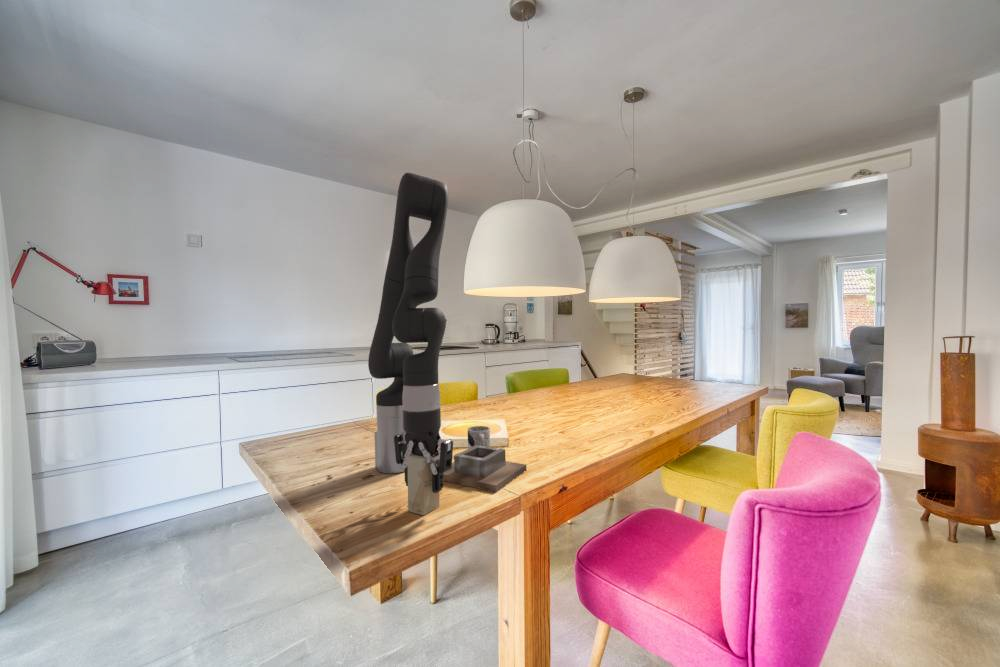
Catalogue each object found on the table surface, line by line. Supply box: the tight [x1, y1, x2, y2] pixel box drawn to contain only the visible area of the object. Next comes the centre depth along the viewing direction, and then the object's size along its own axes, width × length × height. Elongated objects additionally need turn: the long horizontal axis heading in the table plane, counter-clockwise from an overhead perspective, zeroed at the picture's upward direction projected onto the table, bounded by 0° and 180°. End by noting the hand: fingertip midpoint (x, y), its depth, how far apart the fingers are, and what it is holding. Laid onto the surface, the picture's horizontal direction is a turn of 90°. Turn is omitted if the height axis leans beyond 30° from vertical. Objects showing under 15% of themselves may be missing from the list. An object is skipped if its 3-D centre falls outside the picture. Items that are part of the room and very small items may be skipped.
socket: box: [443, 445, 527, 493], centre depth 97 cm, size 18×15×6 cm
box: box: [407, 454, 440, 516], centre depth 79 cm, size 5×4×11 cm
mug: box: [467, 425, 491, 449], centre depth 115 cm, size 10×7×7 cm
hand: (423, 488), depth 79 cm, fingers open, 6 cm apart
